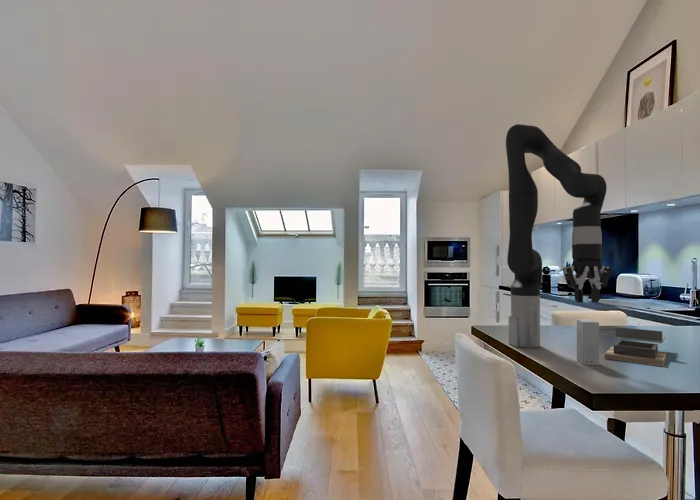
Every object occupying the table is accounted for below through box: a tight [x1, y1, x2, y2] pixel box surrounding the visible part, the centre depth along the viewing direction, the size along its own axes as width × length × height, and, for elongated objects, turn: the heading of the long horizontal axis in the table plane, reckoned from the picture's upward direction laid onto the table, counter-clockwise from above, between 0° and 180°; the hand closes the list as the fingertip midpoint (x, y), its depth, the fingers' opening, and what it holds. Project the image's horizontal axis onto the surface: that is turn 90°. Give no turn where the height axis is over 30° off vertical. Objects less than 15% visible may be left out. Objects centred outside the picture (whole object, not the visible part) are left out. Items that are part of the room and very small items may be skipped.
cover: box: [615, 326, 666, 344], centre depth 135 cm, size 12×12×4 cm
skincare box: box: [576, 318, 600, 366], centre depth 120 cm, size 6×4×12 cm
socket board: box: [604, 339, 668, 367], centre depth 126 cm, size 14×14×4 cm
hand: (587, 302), depth 121 cm, fingers open, 4 cm apart
